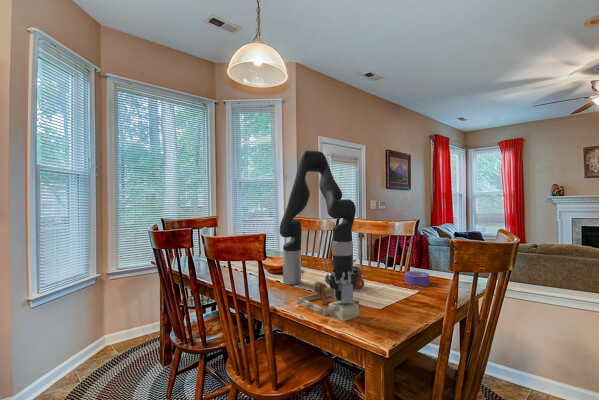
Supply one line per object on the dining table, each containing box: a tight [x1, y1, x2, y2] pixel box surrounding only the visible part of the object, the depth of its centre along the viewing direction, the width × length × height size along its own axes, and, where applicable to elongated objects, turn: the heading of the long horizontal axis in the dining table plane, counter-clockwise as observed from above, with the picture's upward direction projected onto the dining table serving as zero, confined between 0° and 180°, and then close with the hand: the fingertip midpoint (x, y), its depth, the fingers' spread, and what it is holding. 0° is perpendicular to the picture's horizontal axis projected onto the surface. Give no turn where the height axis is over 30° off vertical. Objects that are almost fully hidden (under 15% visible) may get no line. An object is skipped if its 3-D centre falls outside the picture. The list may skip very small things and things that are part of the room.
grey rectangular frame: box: [297, 293, 360, 322], centre depth 121 cm, size 26×18×4 cm
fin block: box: [334, 281, 354, 303], centre depth 112 cm, size 6×4×6 cm, turn 34°
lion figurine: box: [312, 281, 339, 305], centre depth 124 cm, size 15×5×9 cm, turn 50°
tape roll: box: [404, 270, 430, 288], centre depth 153 cm, size 12×12×5 cm
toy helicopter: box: [324, 259, 365, 289], centre depth 145 cm, size 8×21×14 cm, turn 119°
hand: (343, 298), depth 112 cm, fingers closed on fin block, 3 cm apart
